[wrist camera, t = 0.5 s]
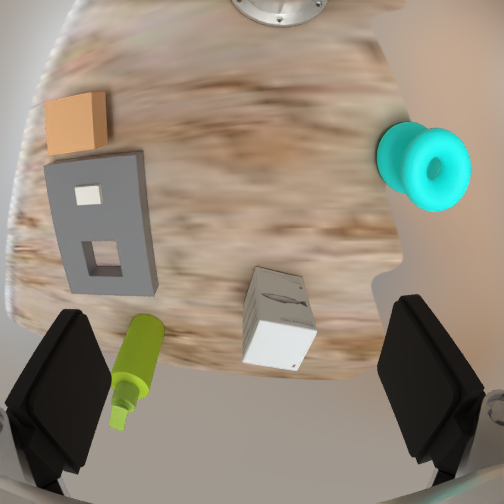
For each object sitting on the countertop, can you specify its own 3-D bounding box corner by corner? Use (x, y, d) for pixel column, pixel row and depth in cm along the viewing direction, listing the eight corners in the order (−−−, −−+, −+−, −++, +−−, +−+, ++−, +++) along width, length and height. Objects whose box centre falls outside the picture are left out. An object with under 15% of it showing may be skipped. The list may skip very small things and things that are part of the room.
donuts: (430, 112, 27) (486, 157, 29) (391, 107, 36) (443, 142, 38) (393, 193, 31) (452, 227, 33) (361, 172, 40) (415, 201, 42)
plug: (70, 100, 34) (44, 102, 28) (113, 92, 34) (91, 91, 28) (74, 146, 37) (48, 155, 31) (116, 140, 37) (94, 149, 31)
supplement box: (303, 275, 47) (320, 331, 36) (286, 314, 50) (297, 373, 39) (255, 263, 46) (259, 319, 35) (241, 304, 49) (241, 364, 38)
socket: (54, 161, 38) (40, 167, 34) (143, 151, 38) (133, 156, 35) (79, 283, 47) (69, 296, 43) (158, 285, 47) (152, 299, 44)
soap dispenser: (170, 316, 50) (143, 418, 32) (160, 344, 52) (136, 442, 35) (135, 304, 49) (95, 402, 31) (128, 333, 51) (94, 427, 33)
